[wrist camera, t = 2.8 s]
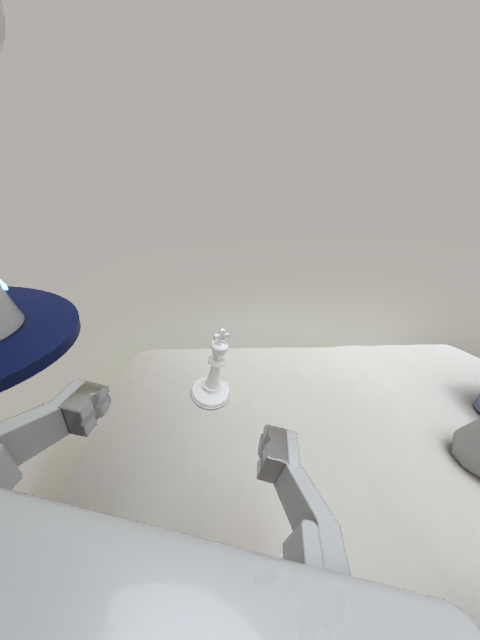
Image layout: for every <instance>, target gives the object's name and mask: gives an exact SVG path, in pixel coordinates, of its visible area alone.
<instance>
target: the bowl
mask: <svg viewBox="0 0 480 640" xmlns="http://www.w3.org/2000/svg"><path fill="white" fill-rule="evenodd" d="M474 407H475V409H476V410H477V411H478V412H479V413H480V394H479V396H478V398H477V399H476V401H475V403H474Z"/></svg>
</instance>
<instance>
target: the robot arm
mask: <svg viewBox="0 0 480 640" xmlns="http://www.w3.org/2000/svg"><path fill="white" fill-rule="evenodd" d="M4 39H5V18H4V12H3V7H2V3H1V0H0V52H1V50H2V47H3V45H4ZM5 290H8V287H7V286H6V284H5V283H4V282H3V281H2V280H1V279H0V341H1V340H2V339H4V338H6V337H8V336H9V335H11V334H12V333H14V332H15V331H16V330H18V329H19V328H20V327H21V325H22V324H23V322H24V314H23V313H22V312H21V311H20V309H19V308H18V307H17V306H16V305H15V304H14V302H13V301H12V300H11V298H10V297H9V295H8V294H7V292H6V291H5ZM108 392H109V387H107V386H104V385H100V384H96V383H92V382H89V381H85V380H81V379H77V380H74V381H73V382H72V383H71V384H70V385H68V386H67V387H66V388H65V389H64V390H63V391H61V392H60V393H59V394H58V395H57V396H56V397H55V398H54V399H52V400H51V401H50V402H49V403H48V404H47V405H44V404H43V405H40V406H38V407H35V408H33V409H30V410H28V411H26V412H23V413H21V414H18V415H16V416H14V417H11V418H9V419H6V420H4V421H1V422H0V640H480V629H479V628H478V626H477V625H476V624H475V623H474V622H473V621H472V619H471V618H470V617H469V616H468V615H467V614H466V613H465V612H464V611H463V610H462V609H461V608H460V607H459V606H457V605H456V604H454V603H452V602H450V601H447V600H444V599H440V598H436V597H432V596H428V595H424V594H420V593H416V592H413V591H409V590H405V589H401V588H397V587H393V586H389V585H385V584H381V583H377V582H373V581H369V580H365V579H361V578H357V577H353V576H351V573H350V568H349V564H348V559H347V555H346V550H345V546H344V541H343V536H342V532H341V527H340V526H339V524H338V522H337V521H336V519H335V518H334V516H333V514H332V513H331V511H330V509H329V508H328V506H327V505H326V503H325V501H324V500H323V498H322V497H321V495H320V493H319V492H318V490H317V489H316V487H315V485H314V484H313V482H312V480H311V479H310V477H309V476H308V474H307V472H306V471H305V469H304V468H301V465H300V457H299V448H298V440H297V434H296V432H295V431H291V430H286V429H284V428H279V427H275V426H270V425H265V427H264V433H263V434H261V437H260V441H259V446H258V455H259V457H260V459H259V461H258V464H257V479H259V480H262V481H266V482H269V483H273V484H274V486H275V489H276V491H277V493H278V496H279V498H280V501H281V503H282V505H283V508H284V510H285V513H286V515H287V517H288V520H289V522H290V525H291V527H292V529H293V532H292V533H291V534H290V536H289V537H288V538H287V539H286V540H285V541H284V543H283V559H282V558H278V557H274V556H270V555H266V554H262V553H258V552H254V551H250V550H246V549H242V548H239V547H235V546H231V545H227V544H223V543H219V542H215V541H211V540H207V539H203V538H199V537H195V536H191V535H187V534H183V533H179V532H175V531H171V530H167V529H163V528H159V527H155V526H152V525H148V524H144V523H140V522H136V521H132V520H128V519H124V518H120V517H116V516H112V515H108V514H104V513H100V512H96V511H92V510H88V509H84V508H80V507H76V506H72V505H68V504H65V503H61V502H57V501H52V500H49V499H45V498H41V497H37V496H33V495H28V494H25V493H21V492H17V491H13V490H12V489H13V487H14V486H15V485H16V484H17V483H18V482H19V481H20V480H21V479H22V473H21V471H20V470H19V468H18V466H19V465H20V464H22V463H23V462H25V461H27V460H28V459H30V458H31V457H33V456H35V455H36V454H38V453H40V452H41V451H43V450H44V449H46V448H48V447H49V446H51V445H52V444H54V443H56V442H57V441H59V440H60V439H62V438H64V437H65V436H67V435H68V434H69V433H71V434H75V435H80V436H85V437H87V436H88V435H89V433H90V432H91V431H92V430H93V428H94V427H95V426H96V425H97V419H98V418H101V417H102V416H104V414H105V413H106V412H107V410H108V408H109V406H110V402H111V398H110V396H109V395H108V394H107V393H108Z"/></svg>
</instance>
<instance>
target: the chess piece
mask: <svg viewBox="0 0 480 640" xmlns="http://www.w3.org/2000/svg"><path fill="white" fill-rule="evenodd" d="M213 338H214V340H213V341H212V342H211V349H212V355H210V356H209V358H208V364H209V365H210V366H211V369H210V372H209V375H208V376H204V377H201V378H199V379H198V380H197V381H196V382H195V383H194V385H193V387H192V390H191V396H192V399H193V401H194V402H195V403H196V404H197V405H198V406H200V407H202V408H205V409H217V408H220V407H222V406H223V405H225V404H226V403H227V401H228V399H229V387H228V385H227V383H226V382H225V381H224V380H222V379H221V378H219V371H220V367H223V366H224V365H225V363H226V361H225V358H224V357H223V355H224V354H225V352H226V351H227V349H228V347H229V346H228V343H227V342H226V341H224V339H225V338H229V334H228V333H225V330H224V329H220V332H219V334H214V337H213Z"/></svg>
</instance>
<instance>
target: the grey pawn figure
mask: <svg viewBox="0 0 480 640" xmlns="http://www.w3.org/2000/svg"><path fill="white" fill-rule="evenodd" d="M451 453H452V454H453V455H454V457H455V458H456V459H457V460H458V462H459V463H460V464H461V465H462V467H463V468H465V469H466V470H468V471H470V472H471V473H473V474H474V475H476V476H477V477H479V478H480V419H478V420H476V421H473V422H471V423H469V424H467V425H465V426H463V427H461V428H459V429H458V430H456V431H455V432H454V434H453V447H452V450H451Z"/></svg>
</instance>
